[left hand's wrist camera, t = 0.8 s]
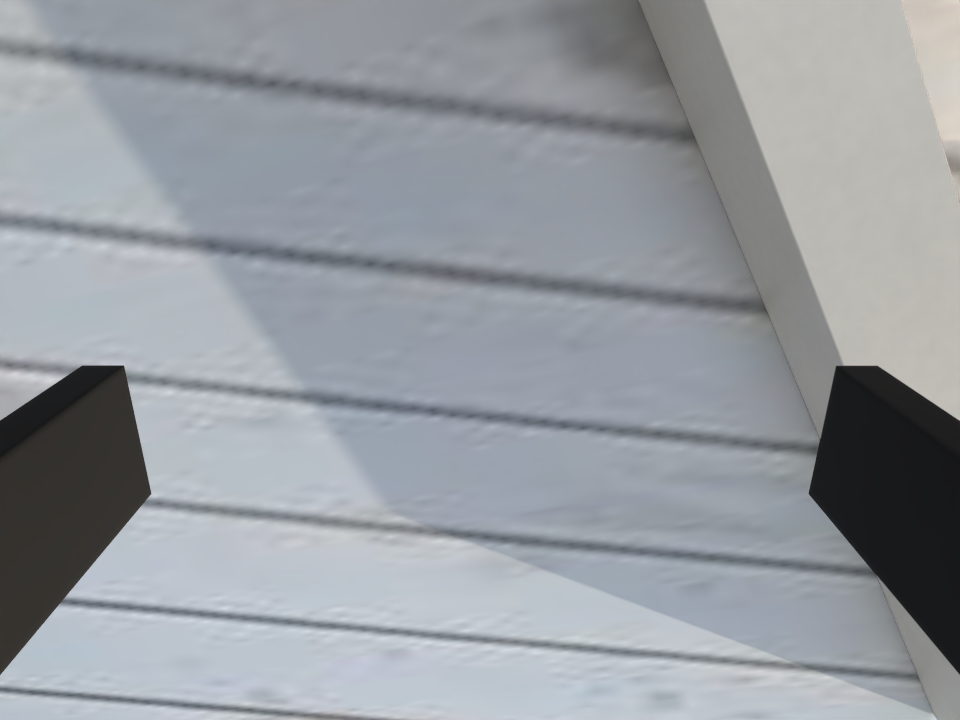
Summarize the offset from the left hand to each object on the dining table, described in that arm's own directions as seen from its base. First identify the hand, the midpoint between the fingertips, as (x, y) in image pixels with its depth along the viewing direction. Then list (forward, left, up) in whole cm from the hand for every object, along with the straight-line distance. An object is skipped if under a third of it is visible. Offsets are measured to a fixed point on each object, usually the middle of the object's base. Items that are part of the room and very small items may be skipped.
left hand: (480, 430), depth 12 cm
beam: (0, +21, -22) cm, 30 cm away
